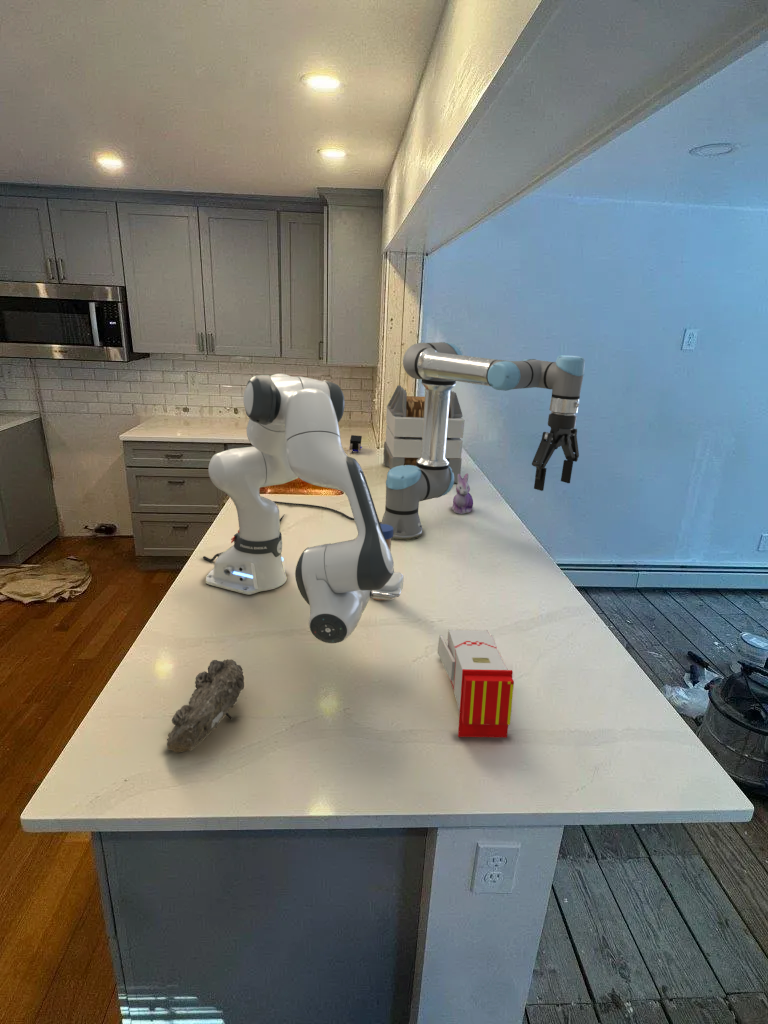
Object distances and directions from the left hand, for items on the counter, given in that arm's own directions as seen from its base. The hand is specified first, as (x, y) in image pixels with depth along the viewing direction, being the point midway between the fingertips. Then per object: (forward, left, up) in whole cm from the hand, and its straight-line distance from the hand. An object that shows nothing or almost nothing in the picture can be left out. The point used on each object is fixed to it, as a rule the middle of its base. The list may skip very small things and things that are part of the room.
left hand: (364, 566), depth 131 cm
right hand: (+44, +49, +10) cm, 67 cm away
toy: (+27, -15, -18) cm, 36 cm away
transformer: (-8, +148, -18) cm, 149 cm away
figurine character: (-48, +179, -18) cm, 187 cm away
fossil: (-21, -35, -18) cm, 45 cm away
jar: (0, +21, -18) cm, 28 cm away
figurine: (+17, +99, -18) cm, 102 cm away
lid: (0, +20, +2) cm, 20 cm away
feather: (-47, +69, -18) cm, 85 cm away
